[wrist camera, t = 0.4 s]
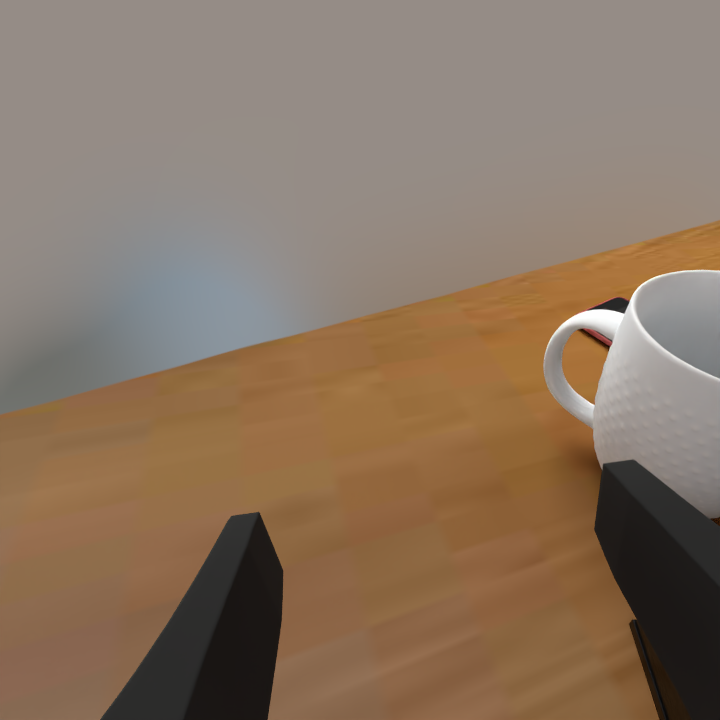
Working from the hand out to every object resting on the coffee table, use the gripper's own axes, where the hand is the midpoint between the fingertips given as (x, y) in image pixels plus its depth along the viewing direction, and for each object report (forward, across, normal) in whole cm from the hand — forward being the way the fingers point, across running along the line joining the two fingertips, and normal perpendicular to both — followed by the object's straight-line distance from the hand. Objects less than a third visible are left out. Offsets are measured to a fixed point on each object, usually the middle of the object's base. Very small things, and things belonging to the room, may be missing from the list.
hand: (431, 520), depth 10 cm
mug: (+17, -16, +19) cm, 30 cm away
